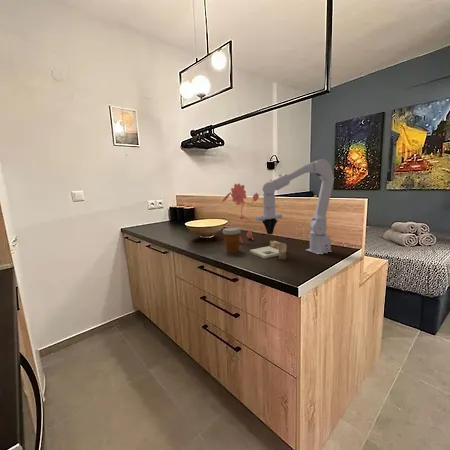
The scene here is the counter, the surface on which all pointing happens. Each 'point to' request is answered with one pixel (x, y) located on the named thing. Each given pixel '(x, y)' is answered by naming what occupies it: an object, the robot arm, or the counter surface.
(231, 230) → the disposable coffee cup
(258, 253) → the stool seat
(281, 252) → the loose leg
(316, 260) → the counter surface
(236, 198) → the figurine
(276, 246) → the hinged leg
